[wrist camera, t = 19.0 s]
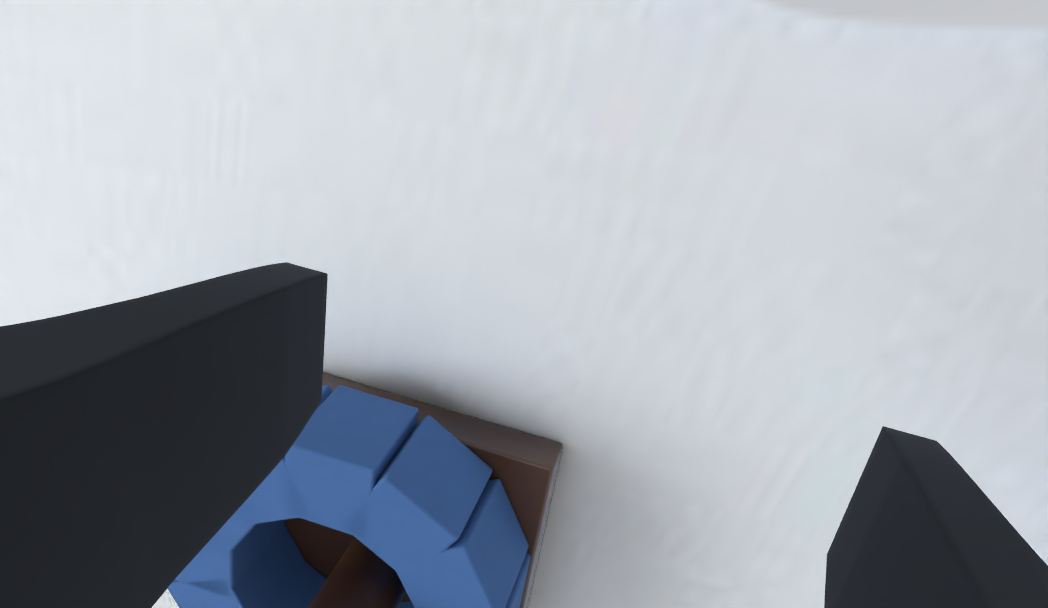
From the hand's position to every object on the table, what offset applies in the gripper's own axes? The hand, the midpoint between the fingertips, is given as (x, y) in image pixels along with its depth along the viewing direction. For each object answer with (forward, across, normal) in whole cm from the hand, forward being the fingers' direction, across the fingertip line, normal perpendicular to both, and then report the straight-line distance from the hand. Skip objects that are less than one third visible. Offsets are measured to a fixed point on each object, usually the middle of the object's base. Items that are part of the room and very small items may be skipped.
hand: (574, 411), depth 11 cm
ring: (+8, +6, +12) cm, 15 cm away
